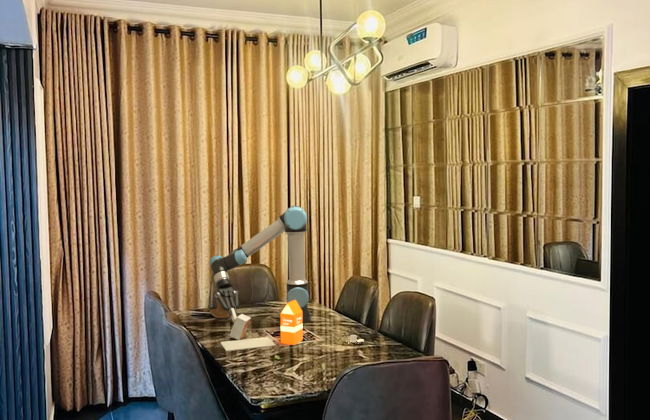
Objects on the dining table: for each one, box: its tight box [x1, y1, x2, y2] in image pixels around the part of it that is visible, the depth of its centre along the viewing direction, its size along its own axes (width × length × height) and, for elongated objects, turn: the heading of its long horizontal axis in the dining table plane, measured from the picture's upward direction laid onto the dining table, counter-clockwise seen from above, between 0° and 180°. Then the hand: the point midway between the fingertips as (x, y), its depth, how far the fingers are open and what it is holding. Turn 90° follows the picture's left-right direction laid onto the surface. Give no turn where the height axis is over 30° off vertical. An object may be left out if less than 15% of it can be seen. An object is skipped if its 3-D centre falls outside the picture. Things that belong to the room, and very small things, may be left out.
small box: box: [229, 313, 252, 340], centre depth 287 cm, size 8×6×10 cm
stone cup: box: [209, 291, 234, 319], centre depth 333 cm, size 15×12×15 cm
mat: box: [219, 336, 277, 352], centre depth 277 cm, size 24×15×1 cm, turn 111°
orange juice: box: [280, 300, 304, 346], centre depth 280 cm, size 8×9×20 cm
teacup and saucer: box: [347, 334, 365, 343], centre depth 278 cm, size 9×8×4 cm
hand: (235, 320), depth 287 cm, fingers closed
